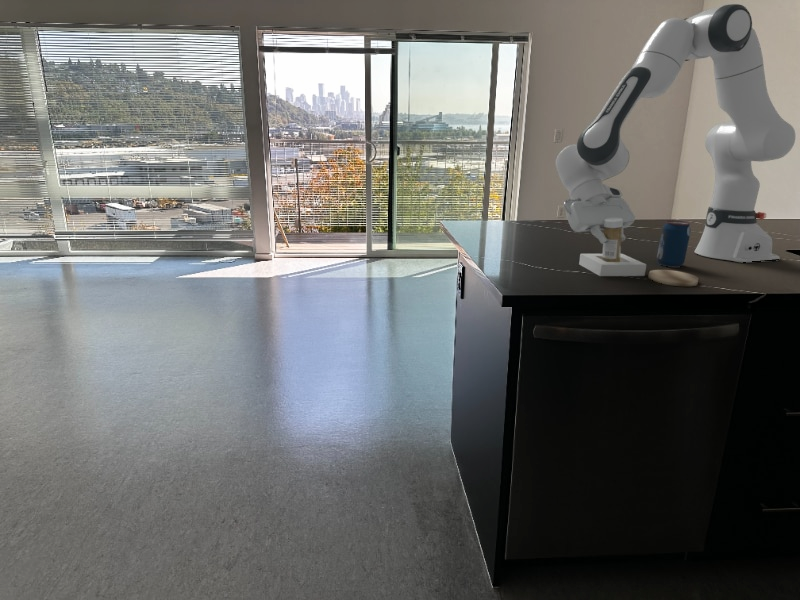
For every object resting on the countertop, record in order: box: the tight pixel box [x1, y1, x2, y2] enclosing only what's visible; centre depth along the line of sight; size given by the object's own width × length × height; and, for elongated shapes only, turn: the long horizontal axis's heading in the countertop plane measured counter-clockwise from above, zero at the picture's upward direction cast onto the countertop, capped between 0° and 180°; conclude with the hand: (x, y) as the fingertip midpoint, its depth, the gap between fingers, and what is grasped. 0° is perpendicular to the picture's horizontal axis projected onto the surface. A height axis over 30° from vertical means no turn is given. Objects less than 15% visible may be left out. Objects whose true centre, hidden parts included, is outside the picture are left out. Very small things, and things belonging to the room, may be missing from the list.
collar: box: [578, 253, 647, 277], centre depth 134 cm, size 12×12×3 cm
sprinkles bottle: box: [602, 218, 623, 262], centre depth 132 cm, size 5×5×13 cm
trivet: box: [647, 269, 699, 287], centre depth 126 cm, size 11×11×1 cm
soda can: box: [656, 220, 692, 268], centre depth 140 cm, size 7×7×12 cm
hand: (613, 241), depth 131 cm, fingers open, 4 cm apart
